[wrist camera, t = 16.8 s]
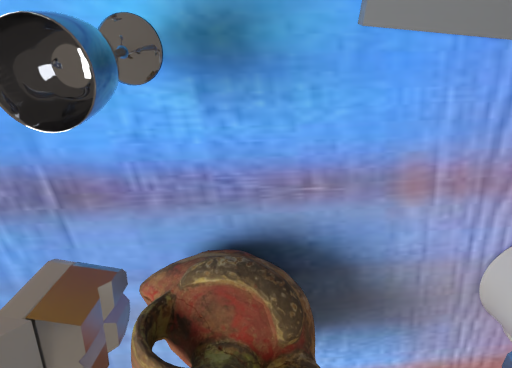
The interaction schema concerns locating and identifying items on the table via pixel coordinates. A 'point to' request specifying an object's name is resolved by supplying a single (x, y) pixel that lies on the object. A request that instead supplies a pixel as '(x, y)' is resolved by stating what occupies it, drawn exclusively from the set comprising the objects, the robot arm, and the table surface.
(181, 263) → the ceramic vessel
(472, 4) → the holder block
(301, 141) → the table surface
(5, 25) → the wine glass
